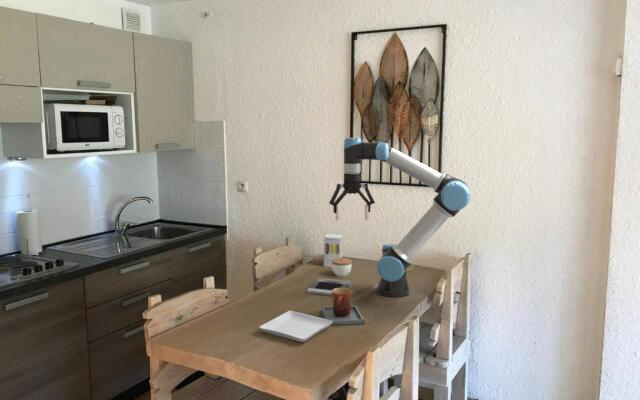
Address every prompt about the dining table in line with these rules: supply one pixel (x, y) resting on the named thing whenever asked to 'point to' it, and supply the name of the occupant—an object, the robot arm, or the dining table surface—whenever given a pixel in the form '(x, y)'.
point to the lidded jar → (341, 266)
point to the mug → (342, 301)
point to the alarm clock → (327, 286)
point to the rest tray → (351, 319)
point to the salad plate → (295, 326)
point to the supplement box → (332, 248)
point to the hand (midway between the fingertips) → (351, 219)
